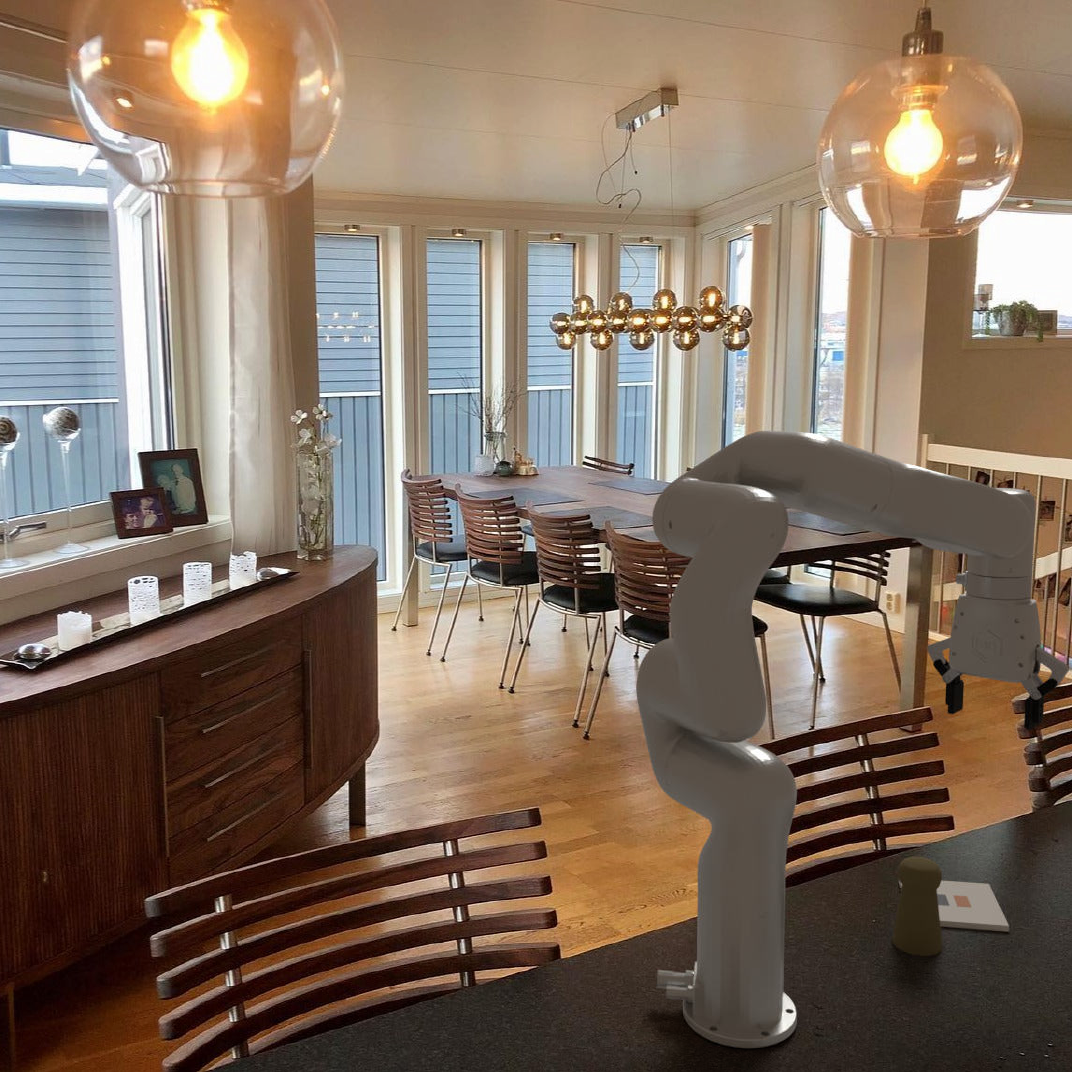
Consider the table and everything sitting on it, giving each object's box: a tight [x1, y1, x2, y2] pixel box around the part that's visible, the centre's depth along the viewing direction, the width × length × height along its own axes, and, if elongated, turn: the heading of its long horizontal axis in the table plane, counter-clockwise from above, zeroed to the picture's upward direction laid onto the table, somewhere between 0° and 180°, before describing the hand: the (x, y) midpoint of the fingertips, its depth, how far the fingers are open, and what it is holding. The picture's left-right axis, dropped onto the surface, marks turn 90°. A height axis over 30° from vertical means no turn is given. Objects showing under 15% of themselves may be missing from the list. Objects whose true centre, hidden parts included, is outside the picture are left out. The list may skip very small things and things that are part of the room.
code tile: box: [898, 879, 1010, 933], centre depth 146 cm, size 12×12×1 cm
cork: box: [891, 856, 943, 957], centre depth 136 cm, size 6×6×11 cm
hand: (992, 719), depth 138 cm, fingers open, 9 cm apart
